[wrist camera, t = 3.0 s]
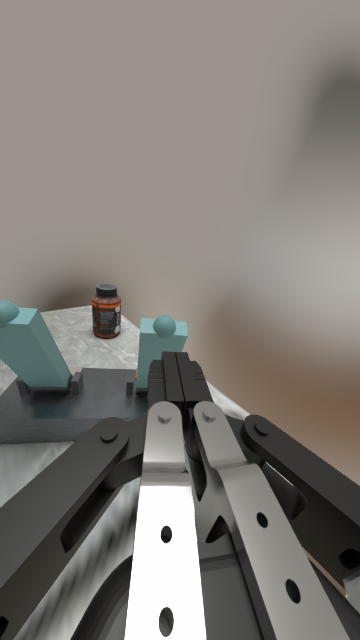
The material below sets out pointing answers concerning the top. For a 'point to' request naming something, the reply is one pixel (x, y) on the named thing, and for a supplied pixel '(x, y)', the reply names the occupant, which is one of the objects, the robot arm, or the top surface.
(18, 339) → the inner lever
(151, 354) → the outer lever
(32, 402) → the switch box
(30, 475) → the top surface
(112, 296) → the supplement bottle
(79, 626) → the robot arm
